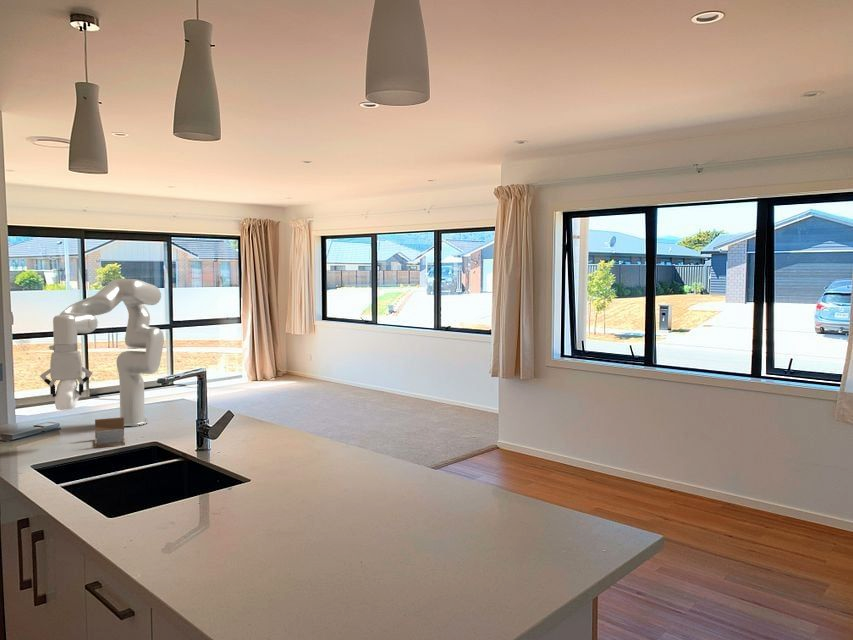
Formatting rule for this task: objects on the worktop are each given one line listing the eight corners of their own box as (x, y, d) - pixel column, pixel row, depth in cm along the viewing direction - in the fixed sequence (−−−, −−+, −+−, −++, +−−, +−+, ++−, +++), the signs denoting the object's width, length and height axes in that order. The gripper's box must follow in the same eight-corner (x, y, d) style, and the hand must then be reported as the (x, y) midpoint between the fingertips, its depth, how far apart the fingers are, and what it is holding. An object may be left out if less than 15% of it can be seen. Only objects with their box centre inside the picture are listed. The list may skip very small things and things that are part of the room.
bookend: (96, 442, 234) (96, 429, 234) (123, 440, 238) (123, 427, 238) (96, 445, 230) (96, 432, 230) (123, 442, 235) (123, 429, 234)
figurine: (71, 410, 227) (70, 378, 226) (50, 410, 227) (49, 377, 226) (82, 406, 234) (81, 374, 233) (62, 405, 234) (61, 374, 233)
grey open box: (95, 439, 242) (95, 419, 241) (123, 436, 246) (123, 417, 246) (95, 448, 230) (94, 426, 230) (125, 445, 235) (124, 424, 234)
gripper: (37, 350, 221) (38, 399, 223) (92, 348, 229) (93, 395, 231) (39, 348, 228) (40, 395, 229) (92, 346, 236) (94, 391, 237)
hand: (67, 395), depth 230 cm, fingers closed on figurine, 8 cm apart
